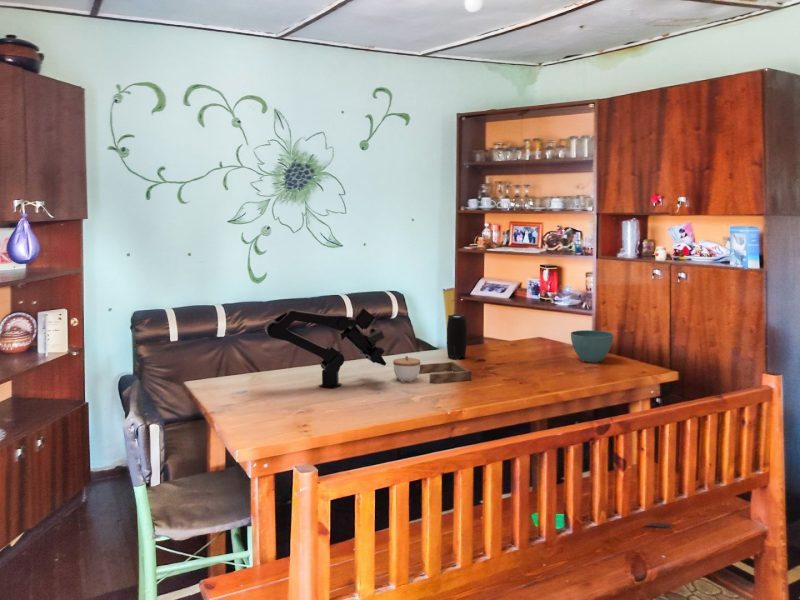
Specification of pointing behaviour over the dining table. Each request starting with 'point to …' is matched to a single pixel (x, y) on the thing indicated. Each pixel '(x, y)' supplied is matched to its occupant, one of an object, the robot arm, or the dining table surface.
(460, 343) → the portable speaker
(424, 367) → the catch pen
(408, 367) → the lidded jar
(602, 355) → the teal round bowl
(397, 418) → the dining table surface
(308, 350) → the robot arm
